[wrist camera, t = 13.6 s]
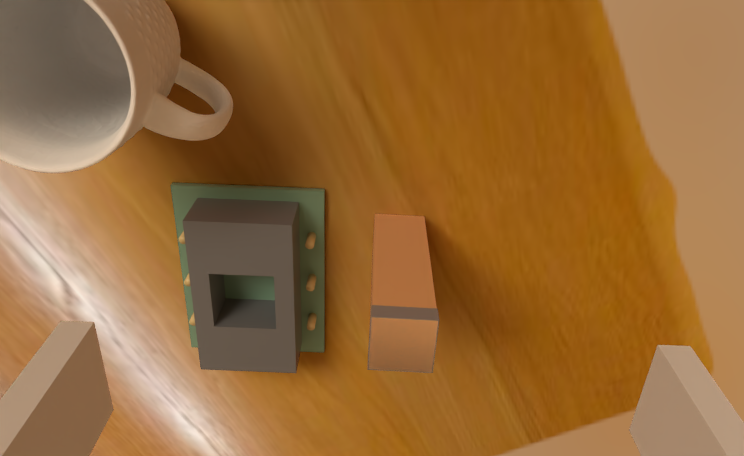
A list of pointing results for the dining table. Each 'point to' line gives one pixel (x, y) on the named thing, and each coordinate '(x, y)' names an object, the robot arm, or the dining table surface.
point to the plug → (402, 297)
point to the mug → (94, 81)
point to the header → (252, 273)
